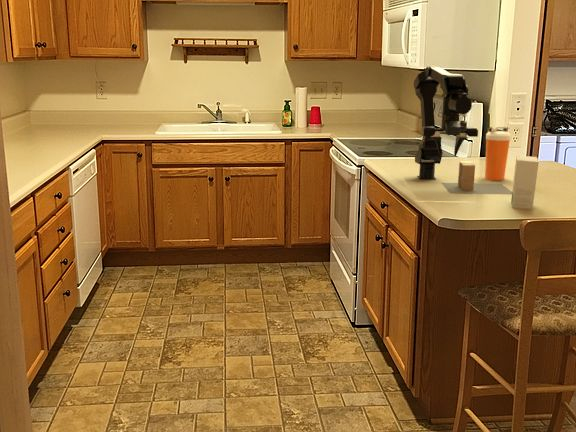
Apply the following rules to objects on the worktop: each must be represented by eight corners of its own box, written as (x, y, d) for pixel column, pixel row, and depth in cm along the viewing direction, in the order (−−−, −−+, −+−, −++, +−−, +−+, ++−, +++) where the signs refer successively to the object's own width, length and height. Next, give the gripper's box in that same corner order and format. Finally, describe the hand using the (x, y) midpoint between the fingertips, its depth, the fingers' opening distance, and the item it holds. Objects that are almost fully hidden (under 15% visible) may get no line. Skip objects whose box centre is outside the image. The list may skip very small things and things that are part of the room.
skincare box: (510, 202, 211) (515, 155, 207) (532, 204, 209) (537, 156, 205) (511, 208, 203) (516, 159, 199) (534, 210, 201) (539, 160, 197)
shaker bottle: (510, 181, 244) (515, 128, 239) (488, 182, 243) (493, 129, 238) (499, 177, 253) (504, 125, 248) (478, 177, 251) (482, 126, 246)
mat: (441, 183, 239) (441, 182, 239) (501, 184, 238) (501, 183, 238) (450, 194, 222) (450, 193, 222) (515, 195, 221) (515, 194, 220)
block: (457, 185, 233) (459, 161, 231) (468, 186, 233) (470, 161, 231) (461, 190, 227) (463, 164, 224) (473, 190, 226) (475, 165, 224)
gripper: (427, 113, 216) (424, 159, 220) (483, 114, 215) (479, 160, 219) (422, 110, 227) (419, 154, 231) (476, 110, 226) (472, 154, 230)
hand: (447, 155), depth 227 cm, fingers open, 5 cm apart
